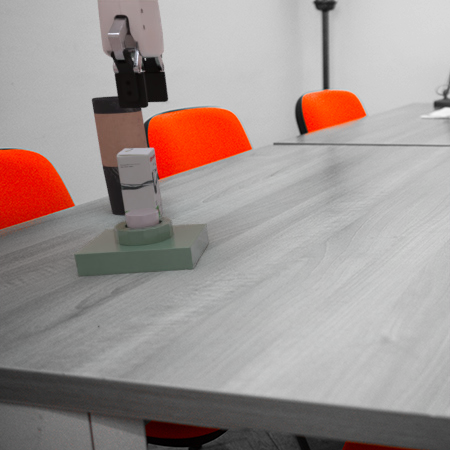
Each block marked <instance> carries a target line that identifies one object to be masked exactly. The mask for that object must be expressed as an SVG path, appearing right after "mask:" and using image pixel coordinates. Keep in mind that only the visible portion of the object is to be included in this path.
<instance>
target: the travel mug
mask: <svg viewBox="0 0 450 450" xmlns="http://www.w3.org/2000/svg"><path fill="white" fill-rule="evenodd" d="M91 103H92V110H93V111H92V112H93V116H94V123H95V129H96V134H97V141H98V147H99V154H100V159H101V160H100V161H101V165H102V171H103V176H104V180H105V184H106V186H105V187H106V190H107V194H108V200H109V204H110V209H111V213H112V214H113V215H117V216H125V209H124V202H123V196H122V189H121V183H120V177H119V170H118V163H117V154H118V153H119V152H120V151H122V150H123V149H126V148H149V147H148V142H147V134H146V129H145V123H144V117H143V116H144V115H143V110H142V109H143V108H121V107H120V106H119V101H118V95H113V96H99V97H92V98H91Z"/></svg>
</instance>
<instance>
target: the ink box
mask: <svg viewBox="0 0 450 450" xmlns="http://www.w3.org/2000/svg"><path fill="white" fill-rule="evenodd" d="M156 159H157V158H156V151H155V148H154V147H148V148H126V149H123V150H122V151H120V152H119V153H118V154H117V163H118V170H119V177H120V183H121V189H122V196H123V202H124V209H125V213H126V212H128V211H131V210H135V209H141V208H155V209H157V210H158V215H159V217H163V216H162V215H163V213H164V211H163V203H162V195H161V188H160V180H159V173H158V166H157V160H156Z"/></svg>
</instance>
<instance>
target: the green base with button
mask: <svg viewBox="0 0 450 450" xmlns="http://www.w3.org/2000/svg"><path fill="white" fill-rule="evenodd" d="M159 222H160V224H158V225H155V226H152V227H146V228H135V229H132V228H127V222H126V220H124V221H122V222H119V223H117V224H116V225H114V227H113V228H107V229H104V230H103V231H101V232H100V233H99V234H98V235H97V236H95V237H94V238H93V239H92V240H90V241H89V242H88V243H87V244H85V245H84V246H83V247H82V248H81V249H79V250H78V251H76V252H75V253H74V255H73V256H74V260H75V265H76V266H75V267H76V270H77V276H78V277H88V276H89V277H91V276H93V277H95V276H106V275H107V276H108V275H123V274H125V275H126V274H137V273H140V274H141V273H155V272H170V271H186V270H185V269H187V270H194V269H193V268H195V267H196V265H197V264H198V262H199V260H200V258H201V257H202V255H203V253H204V252H205V250H206V248H207V246H208V245H209V243H210V239H209V232H208V224H207V223H193V224H192V223H191V224H176V225H175V224H174V225H173V221H172V219H171V218H170V217H166V216H161V217H159ZM196 263H197V264H196Z"/></svg>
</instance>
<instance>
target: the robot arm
mask: <svg viewBox="0 0 450 450" xmlns="http://www.w3.org/2000/svg"><path fill="white" fill-rule="evenodd" d="M97 9H98V10H97V11H98V19H99V31H100V38H101V44H102V45H101V47H102V51H103V52H104V54H105V55H106V56H108V57H109V58H111V59H112V61H113V62H112V71H113V73H114V80H115V87H116V94H117V96H118V101H119V106H120V107H121V108H141V109H145V108H148V107H149V103H166V102H168V101H169V95H168V87H167V78H166V71H165V65H164V62H163V53H164V51H165V44H164V36H163V35H164V33H163V27H162V20H161V19H162V18H161V11H160V5H159V0H97Z"/></svg>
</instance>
